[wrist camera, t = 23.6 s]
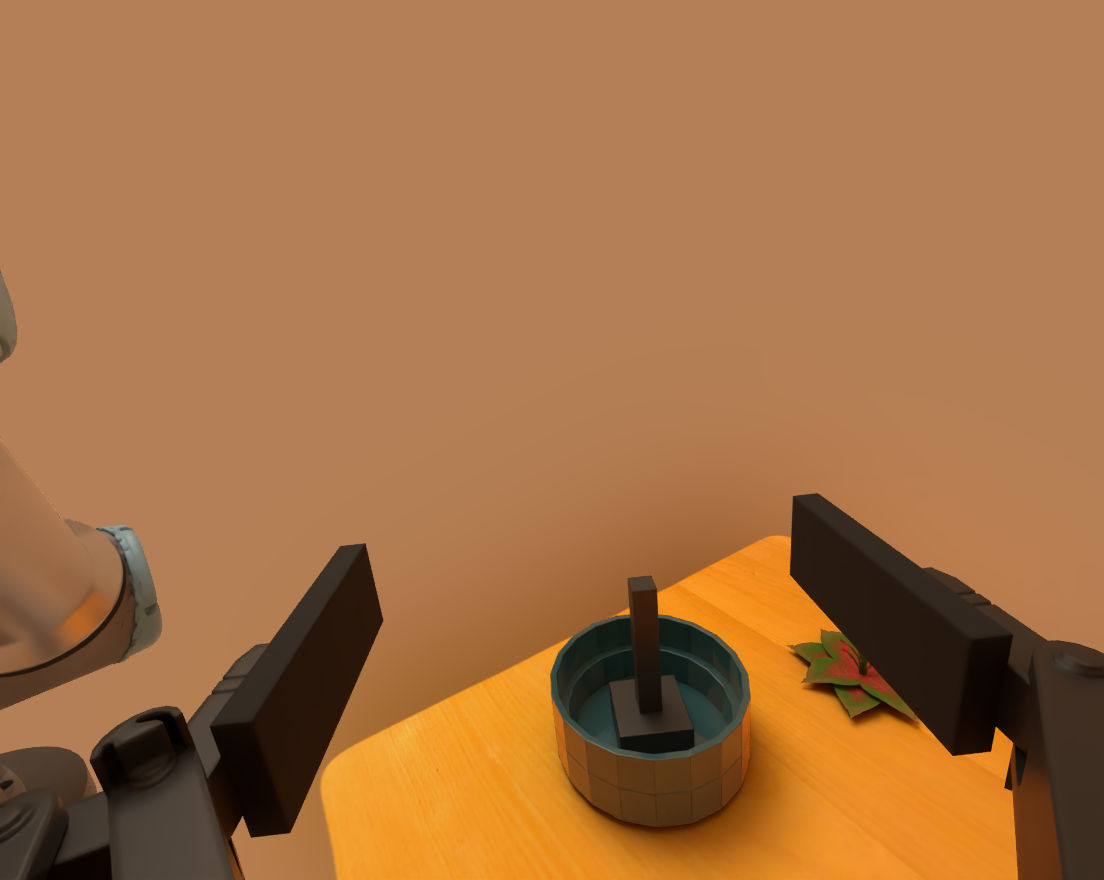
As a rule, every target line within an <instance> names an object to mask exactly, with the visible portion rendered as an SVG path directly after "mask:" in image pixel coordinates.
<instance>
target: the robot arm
mask: <svg viewBox="0 0 1104 880" xmlns="http://www.w3.org/2000/svg"><path fill="white" fill-rule="evenodd" d="M16 341H17V326H16V320H15V314H14V309H13V305H12V302H11V299H10V296H9V293H8V290H7V288H6V285H5V283H4V280H3V277H2V274H1V272H0V363H2V362H3V361H4V360H5V359H7V358H8V357H10V355H11V354H12V352H13V351H14V348H15V346H16ZM790 575H791V577H792V578H793V579H794V580H795V581H796V582H797V583H798V584H799V585H800V587H801V588H802V589H803V590H804V591H805V592H806V593H807V594H808V595H809V597H810V598H811V599H812V600H813V601H814V602H815V603H816V604H817V605H818V607H819V608H820V609H821V610H822V611H823V612H824V613H825V614H826V615H827V617H828V618H829V619H830V620H831V621H832V622H833V623H834V624H835V625H836V627H837V628H838V629H839V630H840V631H841V632H842V633H843V634H844V635H845V637H846V638H847V639H848V640H849V641H850V642H851V643H852V644H853V645H854V647H855V648H856V649H857V650H858V651H859V652H860V653H861V654H862V655H863V657H864V658H865V659H866V660H867V661H868V662H869V663H870V664H871V665H872V667H873V668H874V669H875V670H876V671H877V672H878V673H879V674H880V675H881V677H882V678H883V679H884V680H885V681H886V682H887V683H888V684H889V686H890V687H891V688H892V689H893V690H894V691H895V692H896V693H897V694H898V696H899V697H900V698H901V699H902V700H903V701H904V702H905V703H906V704H907V706H908V707H909V708H910V709H911V710H912V711H913V712H914V713H915V714H916V716H917V717H918V718H919V719H920V720H921V721H922V722H923V723H924V724H925V726H926V727H927V728H928V729H929V730H930V731H931V732H932V733H933V734H934V736H935V737H936V738H937V739H938V740H939V741H940V742H941V743H942V744H943V746H944V747H945V748H946V749H947V750H948V751H949V752H950V753H951V754H952V756H957V755H965V754H974V753H982V752H991V749H992V743H993V738H994V733H995V728H996V727H997V728H998V729H999V730H1000V731H1001V732H1002V733H1003V734H1005V735H1006V736H1007V737H1008V738H1009V739H1010V740H1011V741H1012V742H1013V748H1012V753H1011V758H1010V763H1009V767H1008V772H1007V777H1006V782H1005V787H1004V788H1006V789H1008V790H1011V791H1012V789H1013V804H1014V820H1015V835H1016V850H1017V866H1018V880H1104V654H1103V653H1101V652H1099V651H1097V650H1095V649H1092V648H1089V647H1086V646H1083V645H1080V644H1076V643H1071V642H1065V641H1059V640H1058V641H1057V640H1056V641H1047V640H1046V639H1044V638H1043V637H1041V636H1040V635H1038V634H1037V633H1036V632H1034V631H1032V630H1031V629H1030V628H1028V627H1027V626H1025V625H1024V624H1022V623H1021V622H1019V621H1018V620H1016V619H1015V618H1013V617H1012V616H1011V615H1009V614H1008V613H1006V612H1005V611H1003V610H1002V609H1001V608H999V607H998V606H996V605H992V604H991V602H990V601H989V600H987V599H986V598H984V597H983V596H982V595H980V594H976V593H975V591H974V590H973V589H971V588H970V587H968V586H967V585H966V584H964V583H963V582H961V581H960V580H958V579H957V578H955V577H953V576H950V575H948V574H945V573H943V572H941V571H938V570H936V569H934V568H920V567H919V566H918V565H916V564H915V563H913V562H912V561H911V560H909V559H908V558H907V557H905V556H904V555H902V554H901V553H900V552H898V551H897V550H896V549H894V548H893V547H892V546H890V545H889V544H887V543H886V542H885V541H883V540H882V539H880V538H879V537H878V536H876V535H875V534H873V533H872V532H871V531H869V530H868V529H867V528H865V527H864V526H862V525H861V524H860V523H858V522H857V521H855V520H854V519H853V518H851V517H850V516H849V515H847V514H846V513H844V512H843V511H842V510H840V509H839V508H837V507H836V506H835V505H833V504H832V503H831V502H829V501H828V500H826V499H825V498H824V497H822V496H821V495H819V494H817V493H816V494H807V495H798V496H793V510H792V535H791V560H790ZM382 622H383V617H382V613H381V608H380V605H379V600H378V595H377V591H376V587H375V582H374V578H373V574H372V570H371V565H370V561H369V557H368V552H367V548H366V544H356V545H347V546H340V547H339V549H338V550H337V551H336V553H335V554H334V556H333V557H332V558H331V560H330V561H329V562H328V564H327V565H326V567H325V568H324V569H323V571H322V572H321V573H320V575H319V576H318V578H317V579H316V580H315V582H314V583H313V584H312V586H311V587H310V588H309V590H308V591H307V593H306V594H305V596H304V597H303V598H302V599H301V601H300V602H299V604H298V605H297V606H296V608H295V609H294V610H293V612H292V613H291V615H290V616H289V617H288V619H287V620H286V622H285V623H284V624H283V626H282V627H281V628H280V630H279V631H278V632H277V634H276V635H275V637H274V638H273V639H272V641H271V642H270V643H268V644H259V645H255V646H254V647H253V648H251V649H250V650H249V651H248V652H246V653H245V654H244V655H243V656H241V657H240V658H239V659H237V660H236V661H235V663H234V664H233V665H232V666H231V668H230V669H229V670H228V672H227V673H226V674H225V675H224V677H223V680H222V681H220V682H219V683H218V684H217V686H216V687H215V688H214V689H213V691H212V694H211V695H209V696H208V697H207V698H206V700H205V701H204V702H203V703H202V705H201V706H200V707H199V709H198V710H197V711H196V712H195V714H194V715H193V716H192V717H191V719H190V720H189V721H188V723H186V721H185V718H184V716H183V713H182V712H181V711H180V710H179V709H178V708H177V707H171V706H164V707H158V708H152V709H150V710H147V711H145V712H142V713H140V714H137V715H135V716H133V717H131V718H130V719H128V720H126V721H124V722H123V723H121V724H119V725H117V726H116V727H115V728H114V729H113V730H111V731H110V732H109V733H108V734H107V735H105V736H104V737H103V738H102V739H101V740H100V741H99V743H98V744H97V745H96V746H95V748H94V749H93V750H92V754H91V757H90V763H91V765H92V767H93V769H94V771H95V774H96V776H97V778H98V780H99V782H100V784H101V786H102V788H103V790H104V791H102V792H99V793H96V794H94V795H91V796H88V797H85V798H82V799H79V800H77V801H74V802H71V803H68V804H65V805H63V803H62V801H61V799H60V797H59V795H58V793H56V792H55V791H54V790H53V789H52V788H37V789H34V790H30V791H27V790H26V788H25V786H24V784H23V782H22V781H21V779H20V778H19V777H18V776H17V775H16V774H15V773H14V772H13V771H12V770H10V769H9V768H7V767H5V766H3V765H2V764H0V880H245V878H244V875H243V871H242V868H241V865H240V862H239V858H238V856H237V852H236V849H235V846H234V844H233V841H232V838H231V836H232V835H233V832H234V831H235V829H236V827H237V825H238V823H239V822H240V820H241V818H242V816H243V818H244V820H245V823H246V825H247V828H248V831H249V834H250V836H251V838H252V837H261V836H269V835H278V834H286V833H290V832H291V830H292V828H293V826H294V823H295V821H296V819H297V816H298V814H299V812H300V809H301V807H302V805H303V803H304V800H305V798H306V796H307V793H308V791H309V789H310V787H311V784H312V782H313V780H314V777H315V775H316V773H317V771H318V768H319V766H320V764H321V762H322V759H323V757H324V755H325V753H326V750H327V748H328V746H329V743H330V741H331V739H332V737H333V734H334V732H335V730H336V727H337V725H338V723H339V721H340V718H341V716H342V714H343V711H344V709H345V707H346V704H347V702H348V700H349V698H350V695H351V693H352V691H353V689H354V686H355V684H356V682H357V679H358V677H359V675H360V672H361V670H362V668H363V666H364V663H365V661H366V659H367V656H368V654H369V652H370V649H371V647H372V645H373V643H374V640H375V638H376V636H377V634H378V631H379V629H380V627H381V625H382ZM161 631H162V620H161V613H160V609H159V606H158V603H157V597H156V591H155V587H154V583H153V580H152V576H151V573H150V569H149V566H148V563H147V560H146V557H145V554H144V551H143V549H142V546H141V544H140V541H139V539H138V537H137V535H136V534H135V533H134V531H133V529H132V528H131V527H129V526H127V525H117V526H112V527H107V526H104V527H101V528H97V529H94V528H92V527H90V526H88V525H85V524H83V523H80V522H77V521H73V520H70V519H63V518H62V517H61V516H60V515H59V513H58V512H57V511H56V510H55V508H54V507H53V506H52V504H51V503H50V502H49V500H48V499H47V498H46V496H45V495H44V494H43V493H42V491H41V490H40V488H39V487H38V486H37V485H36V483H35V482H34V481H33V479H32V478H31V477H30V475H29V474H28V473H27V471H26V470H25V469H24V468H23V466H22V465H21V464H20V462H19V461H18V460H17V458H16V457H15V456H14V454H13V453H12V452H11V450H10V449H9V448H8V446H7V445H6V444H5V442H4V441H3V440H2V439H1V437H0V710H1V709H4V708H6V707H8V706H11V705H14V704H16V703H18V702H21V701H23V700H25V699H28V698H31V697H33V696H35V695H38V694H40V693H43V692H45V691H47V690H50V689H53V688H55V687H57V686H60V685H62V684H65V683H67V682H70V681H72V680H74V679H77V678H79V677H82V676H84V675H87V674H89V673H91V672H94V671H96V670H99V669H101V668H104V667H106V666H108V665H111V664H116V663H120V662H123V661H125V660H126V659H128V658H129V656H131V655H133V654H136V653H138V652H140V651H142V650H144V649H146V648H148V647H150V646H151V645H153V644H154V643H155V642H156V641H157V639H158V638H159V637H160V634H161Z"/></svg>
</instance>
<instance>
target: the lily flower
mask: <svg viewBox="0 0 1104 880" xmlns="http://www.w3.org/2000/svg"><path fill="white" fill-rule="evenodd" d="M821 634H822V635H821V641H822V644H820V643H813V642H809V643H802V644H797V645H796V646H793V645H787V646H788V647H790V648H791V649H793V650H794V651H795V652H797V653H798V654H799V655H800V656H802V657H803V658H804V659H806V660H807V661H808V662H810V663H811V665H810V667H809V669H808V672H807V678H804V680H803V681H802V682H801V683H806V682H808V683H816V682H820V683H834V689H835V691H836V693H837V695H838V697H839V699H840V700H841V702H842V704H843V705H844V707H845V708H846V709H847V710H848V711H849V715H850V718H853V717H854V716H856V715H858V714H860V713H862V711H867V710H869V709H871V708H873V707H875V706H877V705H878V704H879V703H880V702H881V701H884V702H886V703H887V704H889V705H891V706H892V707H894V708H895V709H897V710H898V711H900V712H902V713H904V714H906V715H908V716H909V717H910V718H911V719H913V720H914V721H915V722H917V721H916V718H915V717H914V716H915V713H914V712H913V711H912V710H911V709H910V708H909V707H908V706H907V704H906V703H905V702H904V701H903V700H902V699H901V698H900V697H899V696H898V694H897V693H896V692H895V691H894V690H893V689H892V688H891V687H890V686H889V684H888V683H887V682H886V681H885V680H884V679H883V678H882V677H881V675H880V674H879V673H878V672H877V671H876V670H875V669H874V668H873V667H872V665H871V664H870V663H869V662H868V661H867V660H866V659H865V658H864V657H863V655H862V654H861V653H860V652H859V651H858V650H857V649H856V648H855V647H854V645H853V644H852V643H851V642H850V641H849V640H848V639H847V638H846V637H845V635H844V634H843V633H840V632H833V631H831V632H827V631H826V630H822V629H821Z"/></svg>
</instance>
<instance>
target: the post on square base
mask: <svg viewBox="0 0 1104 880" xmlns="http://www.w3.org/2000/svg"><path fill="white" fill-rule="evenodd" d="M628 589H629V590H628V591H629V606H630V622H631V637H632V652H633V667H634V679H631V680H622V681H613V682H609V690H610V702H611V711H612V717H613V722H614V727H615V733H616V738H617V743H618V748H619V749H624V750H630V751H636V752H642V753H649V754H659V753H668V752H677V751H685V750H689V749H691V748H693V747H695V742H694V727H693V724H692V721H691V719H690V716H689V713H688V711H687V708H686V705H685V703H684V700H683V697H682V694H681V692H680V689H679V686H678V684H677V681H676V678H675V676H674V675H666V676H661V665H660V644H659V624H658V603H657V588H656V586H655V583H654V581H653V579H652V576H643V577H634V578H628Z"/></svg>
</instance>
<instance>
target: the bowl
mask: <svg viewBox="0 0 1104 880" xmlns="http://www.w3.org/2000/svg"><path fill="white" fill-rule="evenodd" d="M658 624H659V644H660V665H661V676H666V675H674V676H675V678H676V681H677V684H678V686H679V689H680V692H681V694H682V697H683V700H684V703H685V705H686V708H687V711H688V713H689V716H690V719H691V721H692V724H693V727H694V742H695V747H693V748H691V749H689V750H685V751H677V752H668V753H659V754H649V753H642V752H636V751H630V750H624V749H619V748H618V743H617V738H616V733H615V727H614V722H613V717H612V711H611V702H610V690H609V682H613V681H622V680H631V679H634V667H633V652H632V637H631V622H630V615H621V616H615V617H612V618H609V619H606V620H603V621H600V622H597V623H594V624H592V625H590V626H588V627H587V628H585V629H584V630H582V631H580V632H579V633H577V634H576V635H574V636H573V637H572V638H571V639H570V640H569V641H568V642H567V643H566V645H565V646H564V647H563V648H562V649H561V650H560V651H559V653H558V655H557V657H556V660H555V663H554V665H553V668H552V671H551V674H550V678H551V697H552V705H553V713H554V721H555V729H556V737H557V744H558V752H559V757H560V759H561V761H562V764H563V766H564V768H565V770H566V773H567V775H568V777H569V779H570V781H571V783H572V784H573V785H574V786H575V787H576V788H577V789H578V790H579V791H580V792H581V793H582V794H583V795H584V796H585V797H586V799H587V800H588V801H589V802H590V803H591V804H592V805H594V806H596V807H598V808H600V809H601V810H603V811H605V812H607V813H609V814H611V815H612V816H614V817H616V818H618V819H620V820H623V821H627V822H632V823H637V824H642V825H647V826H652V827H666V826H675V825H683V824H691V823H694V822H696V821H698V820H700V819H702V818H704V817H706V816H708V815H710V814H712V813H715V812H717V811H719V810H721V808H723V807H724V806H725V804H726V803H727V802H728V801H729V800H730V799H731V798H732V797H733V795H734V794H735V793H736V792H737V791H738V790H739V789H740V787H741V786H742V783H743V780H744V777H745V774H746V771H747V767H748V764H749V761H750V709H751V696H750V687H749V678H748V673H747V672H746V670H745V668H744V666H743V664H742V663H741V661H740V659H739V657H738V655H737V654H736V652H735V651H734V650H733V649H731V648H730V647H729V646H728V645H727V644H726V643H725V642H724V641H723V640H722V639H721V638H720V637H718V636H717V635H716V634H714V633H712V632H710V631H708V630H706V629H705V628H703V627H701V626H699V625H697V624H695V623H693V622H690V621H686V620H682V619H679V618H675V617H672V616H668V615H658Z"/></svg>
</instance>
